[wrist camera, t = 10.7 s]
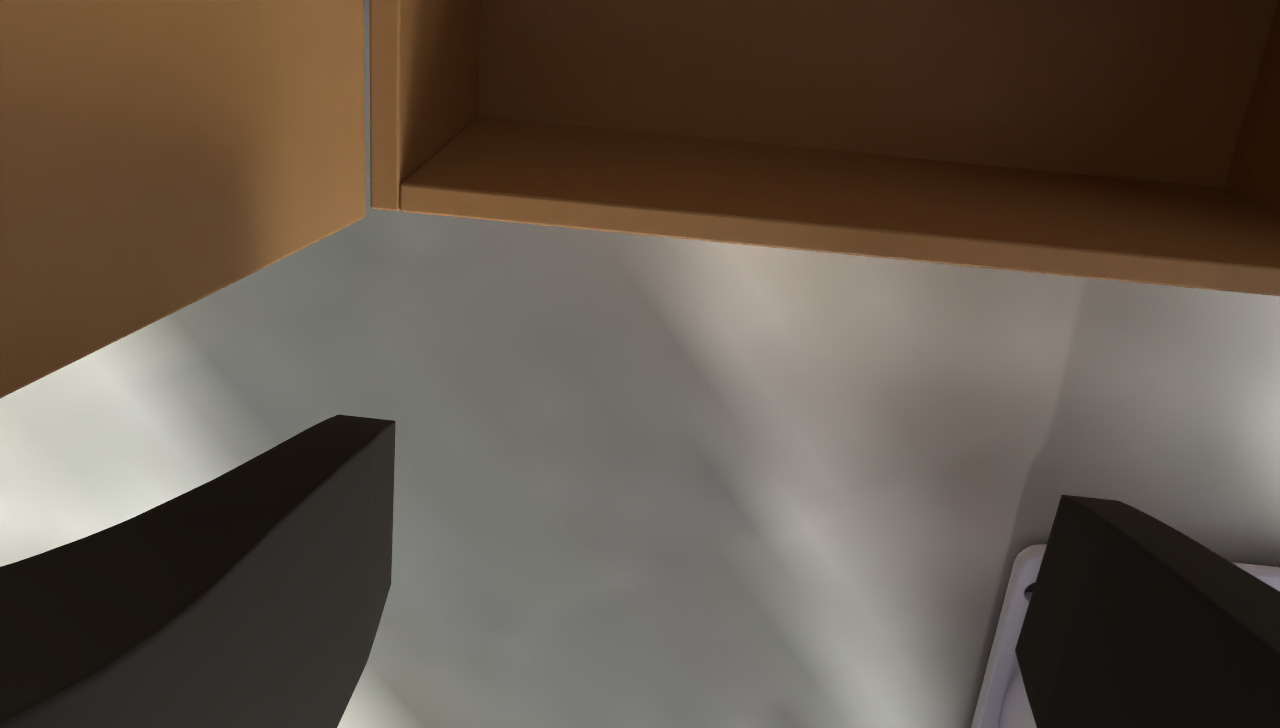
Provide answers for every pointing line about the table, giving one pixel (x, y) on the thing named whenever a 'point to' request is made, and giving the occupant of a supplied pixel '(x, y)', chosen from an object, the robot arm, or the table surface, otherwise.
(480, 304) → the table surface
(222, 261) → the box flap
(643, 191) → the box
